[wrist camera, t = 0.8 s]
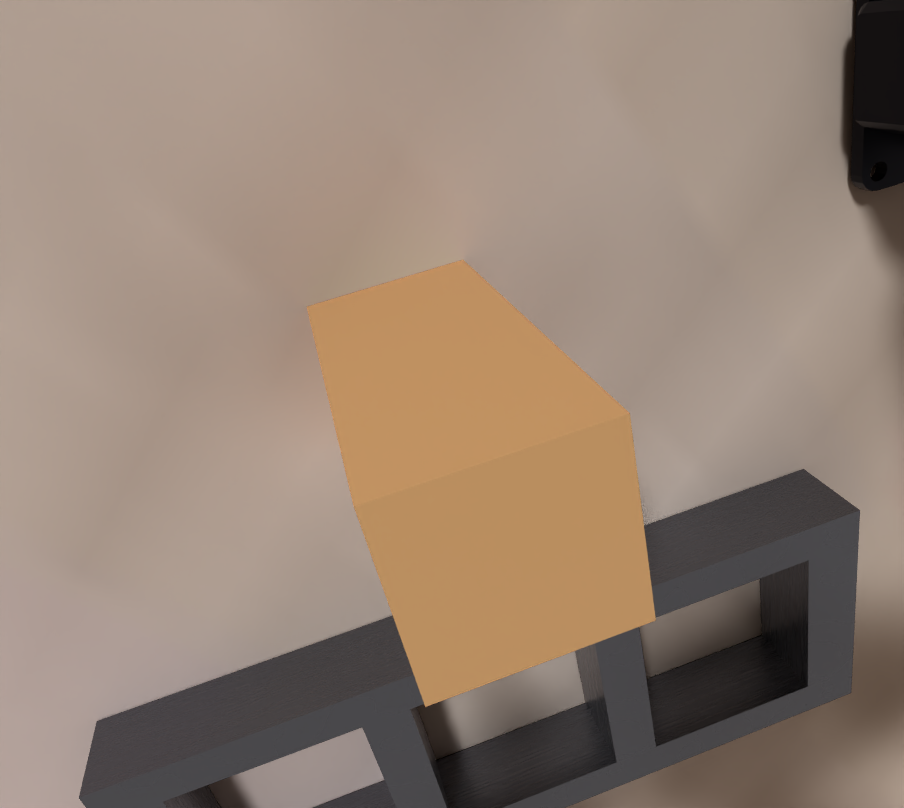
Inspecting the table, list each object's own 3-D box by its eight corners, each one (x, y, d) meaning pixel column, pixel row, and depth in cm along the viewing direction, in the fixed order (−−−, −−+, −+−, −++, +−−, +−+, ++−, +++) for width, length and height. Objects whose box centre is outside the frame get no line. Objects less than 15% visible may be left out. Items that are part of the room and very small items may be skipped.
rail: (803, 469, 24) (859, 510, 22) (803, 642, 27) (851, 692, 25) (96, 721, 21) (79, 798, 19) (201, 876, 25) (197, 955, 23)
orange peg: (462, 259, 18) (629, 413, 10) (494, 398, 20) (655, 620, 12) (306, 306, 18) (353, 506, 10) (353, 444, 19) (425, 707, 12)
